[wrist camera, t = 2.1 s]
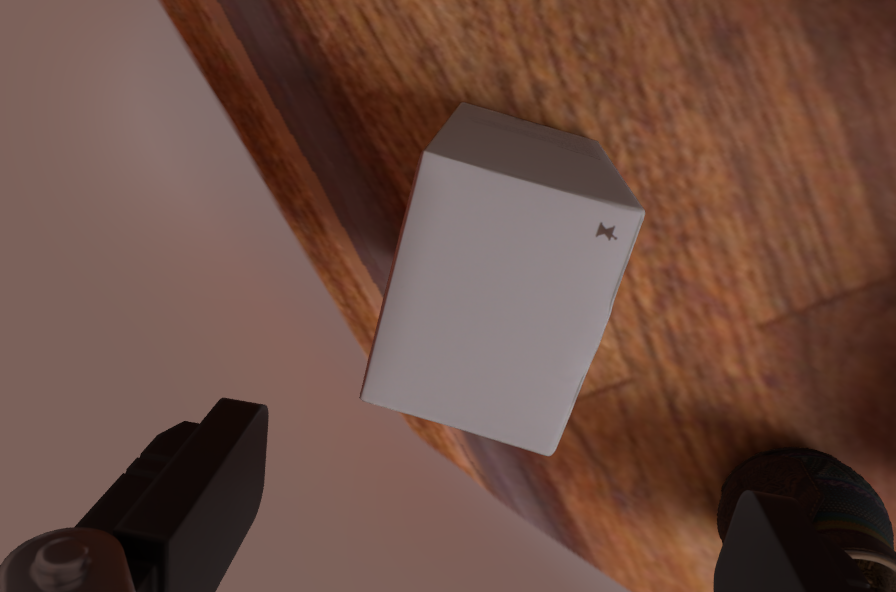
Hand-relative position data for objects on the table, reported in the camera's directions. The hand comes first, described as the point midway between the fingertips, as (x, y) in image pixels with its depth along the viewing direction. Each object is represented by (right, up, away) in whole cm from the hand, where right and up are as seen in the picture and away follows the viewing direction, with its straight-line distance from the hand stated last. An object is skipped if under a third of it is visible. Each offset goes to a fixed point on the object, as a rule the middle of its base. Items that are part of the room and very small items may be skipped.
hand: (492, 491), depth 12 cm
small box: (+2, +7, +20) cm, 22 cm away
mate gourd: (+16, -6, +24) cm, 29 cm away
